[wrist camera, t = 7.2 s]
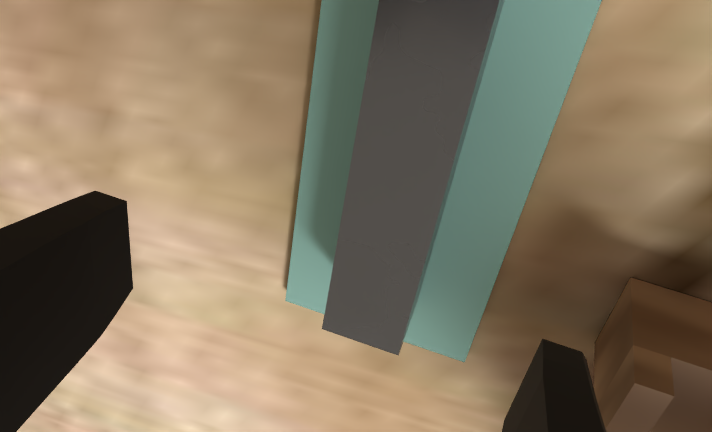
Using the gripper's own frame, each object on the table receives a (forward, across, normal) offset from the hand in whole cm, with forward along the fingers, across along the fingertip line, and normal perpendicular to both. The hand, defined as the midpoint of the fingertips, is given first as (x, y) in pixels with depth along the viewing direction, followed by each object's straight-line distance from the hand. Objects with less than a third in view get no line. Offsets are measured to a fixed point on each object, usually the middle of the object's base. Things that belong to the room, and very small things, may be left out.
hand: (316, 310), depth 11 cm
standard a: (+10, -10, +6) cm, 15 cm away
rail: (+10, 0, 0) cm, 10 cm away
